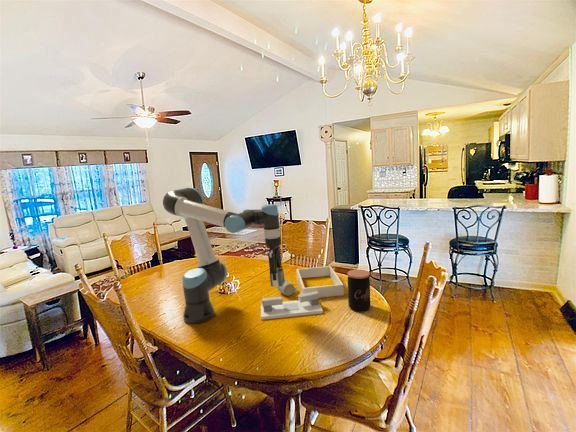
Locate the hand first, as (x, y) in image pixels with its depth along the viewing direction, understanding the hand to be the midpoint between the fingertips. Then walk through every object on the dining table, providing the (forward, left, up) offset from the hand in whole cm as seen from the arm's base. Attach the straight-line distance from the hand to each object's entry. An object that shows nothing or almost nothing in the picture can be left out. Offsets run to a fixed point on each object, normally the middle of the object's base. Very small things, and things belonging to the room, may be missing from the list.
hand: (277, 283), depth 153 cm
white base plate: (+6, +3, -16) cm, 17 cm away
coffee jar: (+40, -2, -16) cm, 43 cm away
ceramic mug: (+6, +24, -16) cm, 29 cm away
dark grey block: (0, 0, 0) cm, 0 cm away
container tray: (+25, +30, -16) cm, 42 cm away
